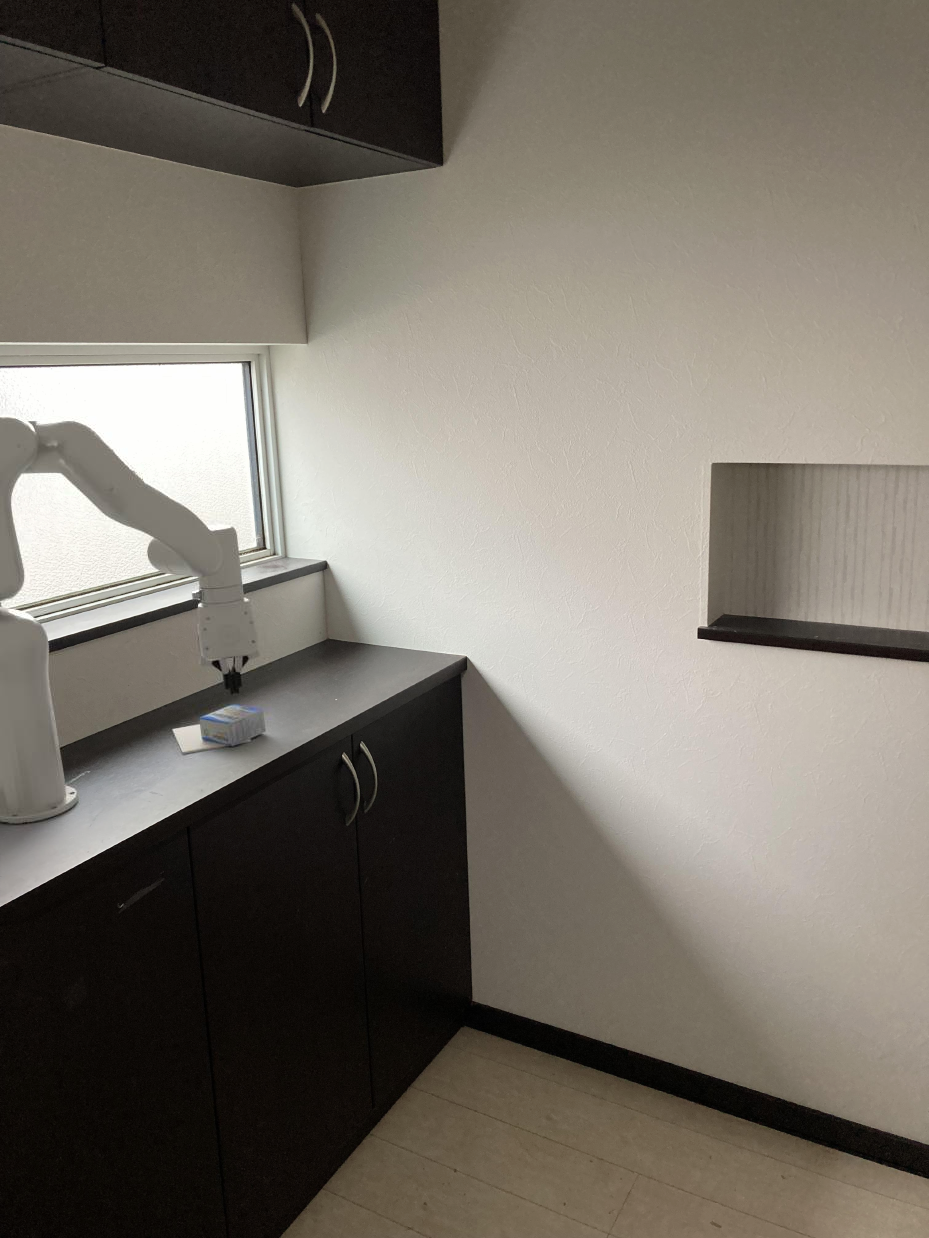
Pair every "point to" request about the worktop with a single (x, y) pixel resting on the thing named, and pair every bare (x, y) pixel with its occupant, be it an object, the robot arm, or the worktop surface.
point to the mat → (195, 740)
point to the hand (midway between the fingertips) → (233, 691)
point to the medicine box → (232, 724)
